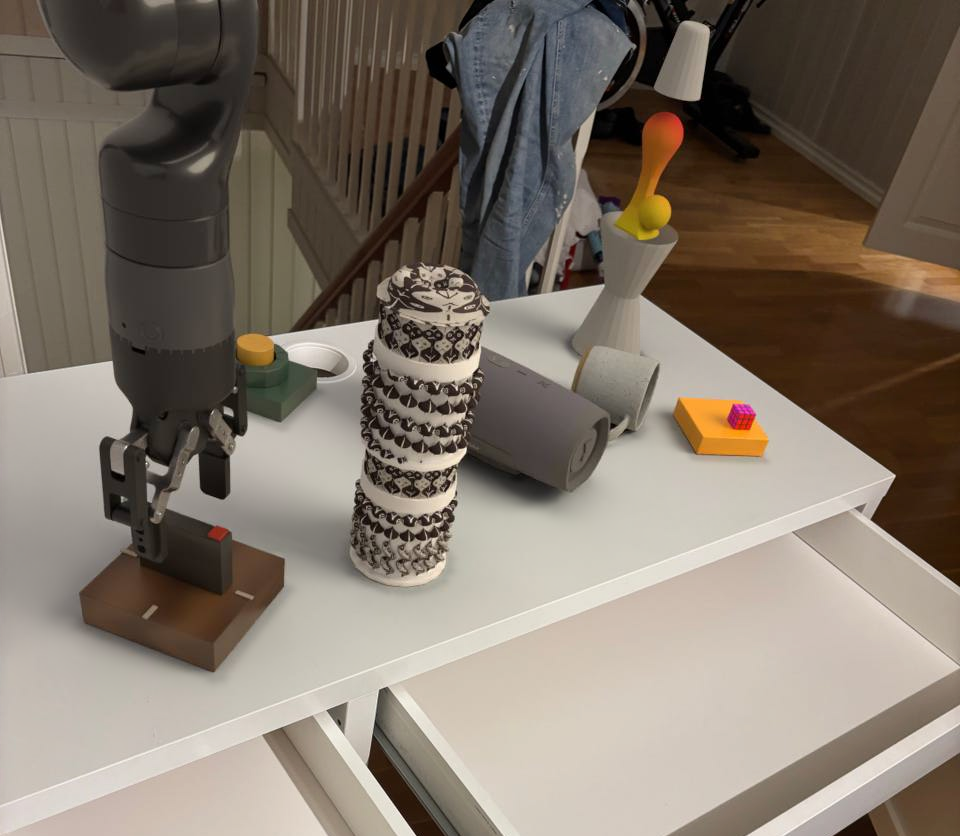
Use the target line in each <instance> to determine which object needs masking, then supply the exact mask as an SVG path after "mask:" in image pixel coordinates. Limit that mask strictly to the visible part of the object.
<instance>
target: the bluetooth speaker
mask: <svg viewBox="0 0 960 836" xmlns="http://www.w3.org/2000/svg"><path fill="white" fill-rule="evenodd" d="M478 366H479V367H480V368H481V372H482V373H483V374H484V381H483V382H482V386H481V388H479V394H480V396H481V399H480V401H479V402H477V406H476V407H475V408H473V409H471V410H472V414H473V415H474V417H475V420H474V422H473V423H472V427H471V429H470V432H469V433H470V435H471V440H470V441H469V442H467V446H466V447H467V450H466V454H469V455H471V456H472V457H475V458H477V459H478V460H480V461H482V462H484V463H485V464H488V465H490V466H492V467H495V468H497V469H498V470H501V471H503V472H506V473H509V474H512V475H518V476H519V475H520V474H524V475H526V476H529V477H531V478H533V479H535V480H537V481H539V482H541V483H544V484H546V485H549V486H551V487H553V488H556V489H559V490H561V491H564V492H567V493H569V494H570V493H573V492H575V491H576V490H577V489H578V488H579V487H581V486H582V485H583V484H584V483H586V482H587V481H588V480H589V479H590V477H591V476H592V475H593V473H594V472H595V470H596V469H597V468H598V465H599V463H600V462H601V460H602V458H603V456H604V454H605V451H606V449H607V447H608V444H609V442H608V440H609V435H610V430H611V424H612V423H611V419H610V414H609V413H607V412H606V411H604V410H603V409H601V408H600V407H598V406H597V405H595V404H594V403H592V402H591V401H589V400H587V399H585V398H584V397H582V396H580V395H578V394H576V393H574V392H572V391H571V389H569V388H567V387H565V386H563V385H561V384H560V383H558V382H556V381H555V380H552V379H550V378H548V377H546V376H545V375H542V374H540V373H539V372H536V371H534V370H533V369H530V368H529V367H527V366H525V365H523V364H521V363H518V362H517V361H515V360H513V359H511V358H508V357H507V356H505V355H502V354H500V353H498V352H496V351H494V350H492V349H489V348H487V347H485V346H482V345H481V353H480V359H479V364H478ZM473 379H474V377H472V380H473ZM472 380H471V381H472ZM468 399H469V397H468Z"/></svg>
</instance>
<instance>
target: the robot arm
mask: <svg viewBox="0 0 960 836" xmlns="http://www.w3.org/2000/svg"><path fill="white" fill-rule="evenodd" d="M36 4H37V6H38V10H39V12H40V13H39V14H40V16H41V18H42V22H43V24H44V28H46V30H47V33H48V35H49V37H50V39H51V41H52V43H53V44H54V46H55V47H56V49H57V51H59V53H60V55H61V56H62V57H63V58H64V59H65V60H66V62H67V63H68V64H69V65H70V66H72V68H73V69H75V71H76V72H77V73H79V74H80V75H81V76H82V77H84V78H85V79H86V80H87V81H89V82H90V83H92V84H93V85H95V86H97V87H99V88H101V89H102V90H107V91H110V92H116V93H131V92H140V91H146V90H151V92H150V95H149V99H148V102H147V104H146V106H145V107H144V108H143V110H142V111H141V112H140V113H138V114H137V115H136V116H134V117H132V118H131V119H129V120H128V121H126V122H124V123H122V124H120V125H119V126H117V127H115V128H114V129H112V130H111V131H109V132H108V133H107V134H105V135H104V137H103V138H102V139H101V141H100V142H99V146H98V148H97V154H96V171H97V172H96V174H97V183H98V184H97V185H98V193H99V202H100V211H101V223H102V231H103V238H104V239H103V243H104V244H103V245H104V260H103V284H104V286H103V287H104V293H105V303H106V313H107V323H108V333H109V340H110V341H109V343H110V349H111V359H112V360H111V361H112V370H113V377H114V378H113V379H114V382H115V384H116V386H117V388H118V389H119V390H120V391H121V393H122V394H123V396H124V397H125V398H126V400H128V402H129V403H130V405H131V409H132V413H131V414H132V415H131V421H130V424H129V425H130V426H129V433H126V435H124V436H123V437H121V438H120V439H116V438H114V437H111V436H108V435H106V436H104V437H103V438H102V439H101V441H100V443H99V446H98V451H99V452H98V453H99V463H100V466H99V467H100V478H101V490H102V501H103V514H104V515H103V516H104V518H105V519H106V520H109V521H111V522H116V523H119V524H122V525H124V526H127V527H129V528H130V534H131V544H132V543H133V550H134V552H135V554H137V555H139V556H140V557H143V558H146V559H148V560H151V561H154V562H157V563H161V562H162V561H163V560H164V559H165V558H166V557H167V556H168V544H167V531H166V518H165V517H164V513H165V509H167V505H168V503H169V500H170V496H171V494H172V493H173V492H176V491H178V490H179V489H180V487H181V484H182V480H183V478H184V474H185V471H186V467H187V465H189V462H191V460H192V459H193V457H194V456H198V476H199V477H198V478H199V489H200V491H201V493H203V494H204V495H206V496H209V497H211V498H214V499H218V500H221V501H224V500H226V499H227V498H228V497H229V496H230V495H231V492H232V491H231V456H232V455H233V454H234V452H235V450H236V447H237V442H236V438H237V436H238V437H242V438H243V437H244V436H245V435H246V433H247V431H248V427H249V420H248V417H249V416H248V411H247V392H246V368H245V365H244V364H241V363H238V362H236V341H237V340H236V287H235V285H236V284H235V275H234V269H233V263H232V257H231V230H230V229H231V228H230V225H231V221H230V219H231V218H230V190H229V189H230V188H229V186H230V185H229V182H230V181H229V180H230V174H231V168H232V165H233V161H234V158H235V155H236V152H237V148H238V144H239V141H240V136H241V131H242V127H243V123H244V119H245V116H246V115H245V114H246V110H247V106H248V101H249V98H250V93H251V88H252V85H253V80H254V76H255V72H256V68H257V67H256V66H257V60H258V56H259V47H260V46H259V45H260V34H261V33H260V29H261V28H260V10H259V4H258V0H36ZM225 408H229V409H230V410H231V411H232V415H231V414H227V413H225ZM147 457H148V458H149V460H150V461H152V462H153V463H155V464H158V465H161V466H164V467H166V468H168V469H167V471H166V473H165V474H163V475H162V474H161V473H160V474H159V473H156V472H154V471H151V470H149V468H150V462H149V461H147V460H146V459H147ZM148 484H149V485H152V486H153V487H154V493H153V497H152V498H151V499H152V500H151V502H150V501H148ZM122 497H123V499H122Z"/></svg>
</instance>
